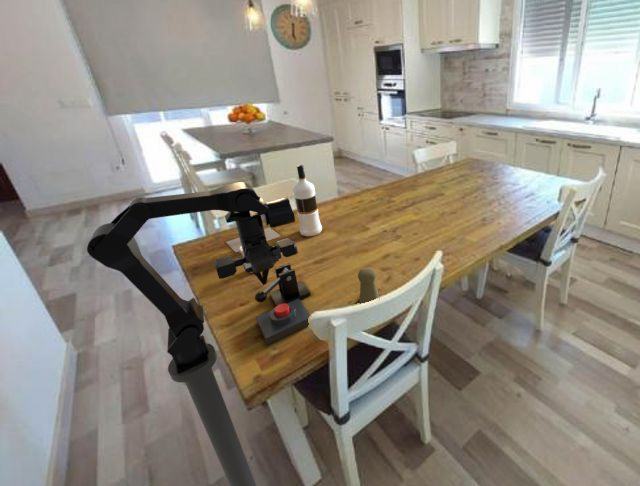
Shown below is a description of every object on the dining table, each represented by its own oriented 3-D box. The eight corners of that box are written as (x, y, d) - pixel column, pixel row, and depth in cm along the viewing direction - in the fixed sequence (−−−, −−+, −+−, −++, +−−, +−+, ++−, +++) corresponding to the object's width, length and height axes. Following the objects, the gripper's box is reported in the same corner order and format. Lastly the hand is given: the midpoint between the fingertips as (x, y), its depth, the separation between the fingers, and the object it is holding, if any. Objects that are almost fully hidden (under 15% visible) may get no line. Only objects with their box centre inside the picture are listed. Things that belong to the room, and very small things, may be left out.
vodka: (299, 238, 134) (286, 169, 122) (301, 228, 142) (289, 163, 130) (322, 235, 136) (311, 167, 124) (322, 226, 144) (312, 161, 132)
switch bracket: (277, 309, 94) (271, 282, 90) (270, 295, 100) (263, 269, 96) (310, 295, 100) (305, 269, 96) (301, 283, 106) (296, 257, 102)
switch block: (267, 344, 82) (264, 333, 81) (257, 322, 89) (254, 311, 88) (312, 323, 89) (310, 311, 87) (300, 304, 96) (298, 293, 95)
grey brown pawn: (360, 309, 94) (357, 278, 89) (358, 296, 99) (355, 266, 95) (380, 305, 95) (378, 274, 91) (377, 292, 101) (375, 263, 96)
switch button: (277, 319, 86) (276, 314, 85) (274, 312, 88) (272, 307, 87) (291, 313, 88) (290, 308, 87) (287, 306, 90) (286, 301, 89)
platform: (280, 235, 136) (278, 222, 134) (235, 252, 124) (231, 237, 122) (269, 227, 144) (266, 214, 141) (225, 242, 132) (221, 227, 129)
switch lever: (261, 306, 93) (253, 301, 91) (258, 300, 96) (251, 295, 94) (294, 276, 97) (287, 270, 95) (291, 271, 100) (284, 265, 98)
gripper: (213, 259, 69) (230, 315, 75) (299, 233, 79) (309, 284, 85) (206, 239, 77) (223, 291, 83) (286, 218, 87) (295, 266, 93)
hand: (264, 283), depth 86 cm, fingers closed
